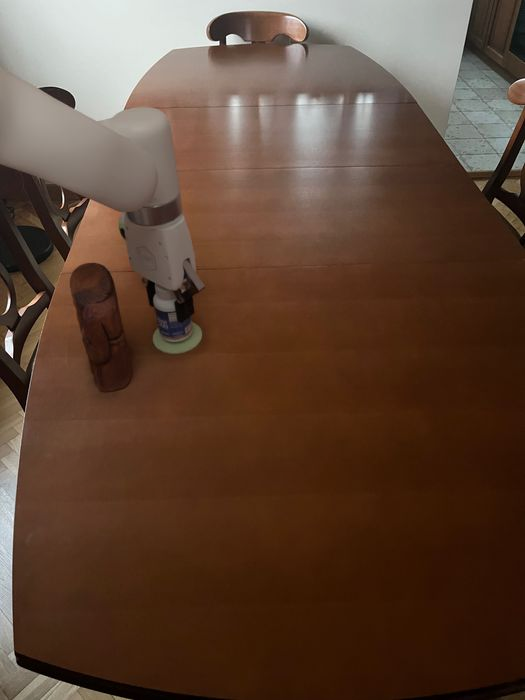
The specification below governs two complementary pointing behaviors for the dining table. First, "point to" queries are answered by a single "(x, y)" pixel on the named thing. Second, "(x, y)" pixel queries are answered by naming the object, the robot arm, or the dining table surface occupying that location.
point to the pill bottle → (170, 316)
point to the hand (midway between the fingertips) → (172, 308)
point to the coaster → (178, 346)
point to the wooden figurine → (101, 326)
